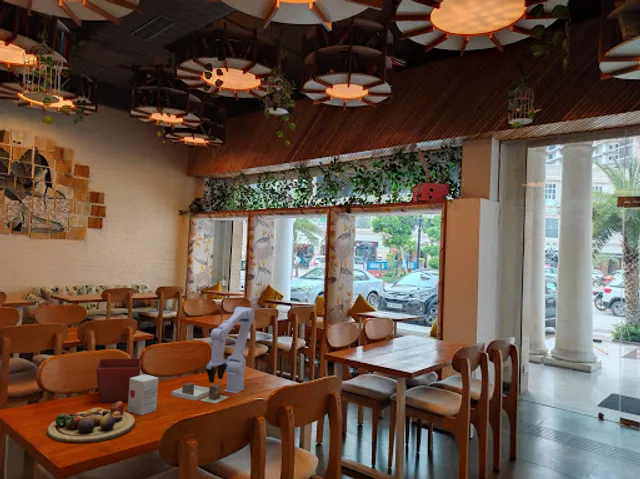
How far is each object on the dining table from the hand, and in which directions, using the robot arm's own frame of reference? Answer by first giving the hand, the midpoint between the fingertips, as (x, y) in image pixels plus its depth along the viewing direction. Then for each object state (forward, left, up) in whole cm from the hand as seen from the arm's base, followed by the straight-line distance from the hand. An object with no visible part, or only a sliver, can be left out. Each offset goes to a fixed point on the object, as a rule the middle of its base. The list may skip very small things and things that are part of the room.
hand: (215, 380), depth 240 cm
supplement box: (+31, -18, -10) cm, 37 cm away
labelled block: (0, 0, -9) cm, 9 cm away
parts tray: (0, -13, -9) cm, 16 cm away
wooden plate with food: (+56, -21, -10) cm, 60 cm away
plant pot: (+23, -40, -10) cm, 47 cm away
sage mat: (0, 0, -9) cm, 9 cm away
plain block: (+4, -13, -9) cm, 16 cm away
